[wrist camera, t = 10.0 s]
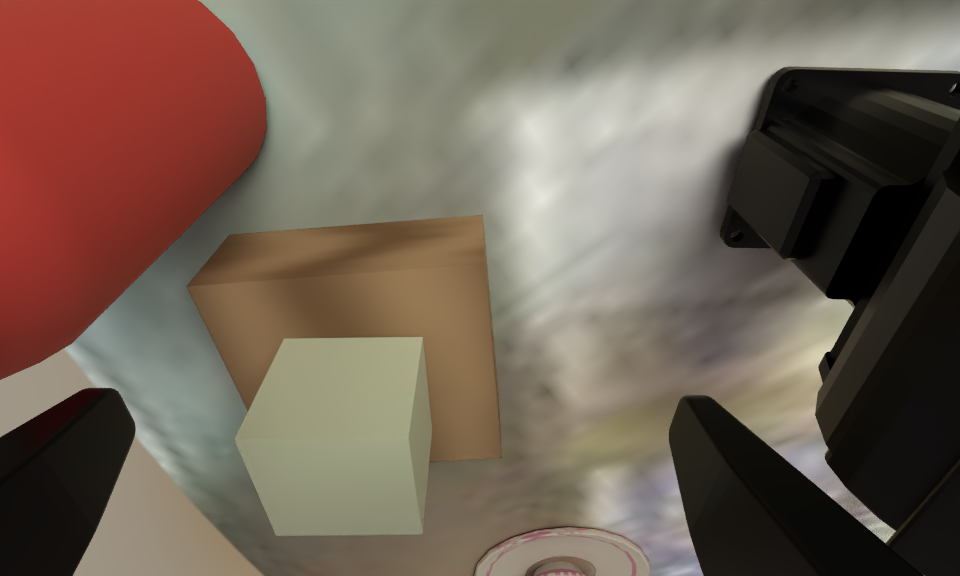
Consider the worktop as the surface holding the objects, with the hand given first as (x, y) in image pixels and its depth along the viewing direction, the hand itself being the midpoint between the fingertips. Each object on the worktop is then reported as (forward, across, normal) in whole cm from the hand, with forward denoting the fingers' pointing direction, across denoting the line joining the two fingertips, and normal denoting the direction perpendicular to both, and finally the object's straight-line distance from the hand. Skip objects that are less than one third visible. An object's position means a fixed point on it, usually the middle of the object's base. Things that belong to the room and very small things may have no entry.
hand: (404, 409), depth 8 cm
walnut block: (+12, +3, +8) cm, 15 cm away
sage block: (+8, +3, +8) cm, 12 cm away
